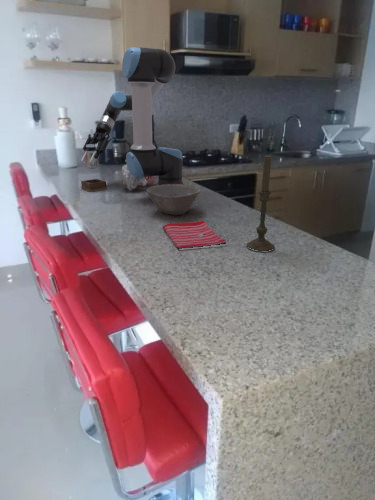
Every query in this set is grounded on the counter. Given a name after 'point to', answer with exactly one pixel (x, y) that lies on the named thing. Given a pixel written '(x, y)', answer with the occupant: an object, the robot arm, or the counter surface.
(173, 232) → the dish towel
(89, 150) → the spice jar
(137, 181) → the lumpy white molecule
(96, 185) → the walnut can stand
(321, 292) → the counter surface
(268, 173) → the candlestick holder
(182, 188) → the ceramic bowl
